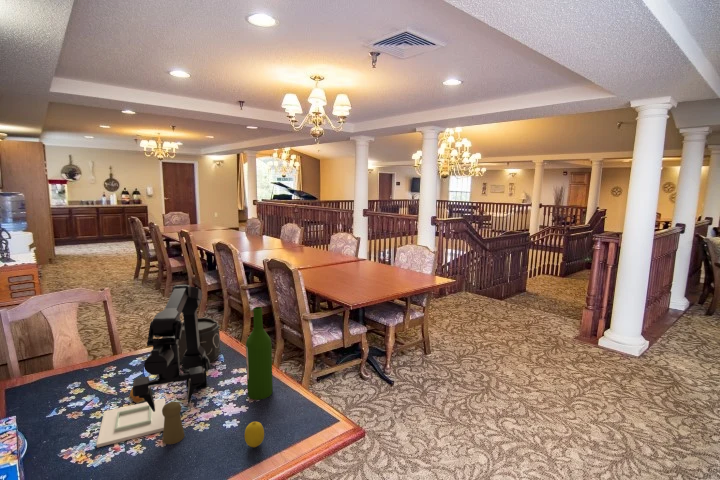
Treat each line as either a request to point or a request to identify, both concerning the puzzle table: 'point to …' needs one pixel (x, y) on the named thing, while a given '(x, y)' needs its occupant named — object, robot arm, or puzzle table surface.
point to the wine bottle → (259, 360)
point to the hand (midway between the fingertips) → (171, 406)
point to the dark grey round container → (204, 338)
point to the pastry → (135, 399)
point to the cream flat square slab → (131, 422)
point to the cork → (172, 423)
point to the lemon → (254, 434)
